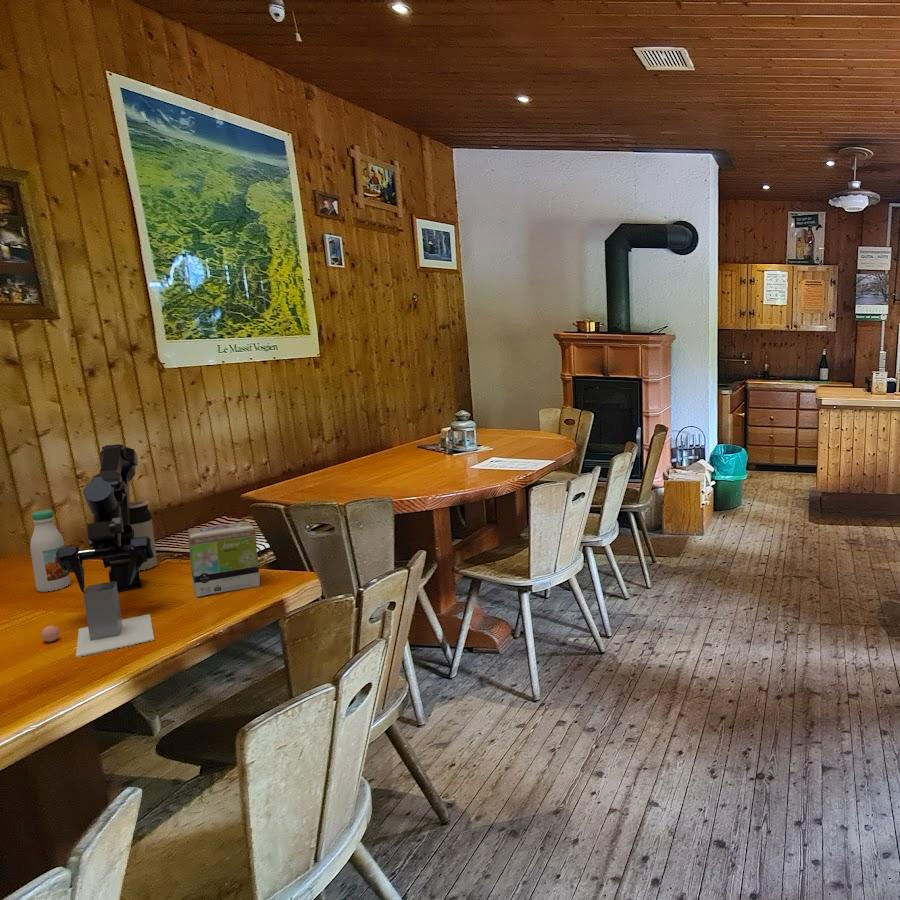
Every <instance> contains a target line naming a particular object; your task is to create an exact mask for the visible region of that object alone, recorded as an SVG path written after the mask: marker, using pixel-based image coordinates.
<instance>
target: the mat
mask: <svg viewBox="0 0 900 900" xmlns="http://www.w3.org/2000/svg"><path fill="white" fill-rule="evenodd" d="M122 626H123V627H122V629H121V632H120V635H119V636H115V637H109V638H103V639H98V640H92V641H90V636H89V629H88V626H84V627H80V628H78V633H77V642H76V643H77V644H76V650H75V651H76V653H75V658H76V659H79V658H82V656H83V657H87V655H88V656H91V654H92V655H97V654H101V653H106V652H110V651H115V650H118V649H117V648H120V649H123V647H124V648H128V647H127V646H129V647H132V645H133V646H136V645H135V644H138V645H140V644H139V643H142V644H144V643H143V642H147V643H149V642H148V641H151V642H153V641H152V640H154V641H155V636H154V631H153V625H152V619H151V613H148V614H143V615H138V616H133V617H129V618H128V617H127V618H125V619H122ZM114 649H115V650H114ZM105 651H106V652H105Z"/></svg>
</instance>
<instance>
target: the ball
mask: <svg viewBox="0 0 900 900" xmlns="http://www.w3.org/2000/svg"><path fill="white" fill-rule="evenodd" d="M40 636H41V638H42V640H43V641H46V642H49V643H50V642H53V641H56V640H57V639H58V637H59V636H60V629H59V628H58V627H57V626H55V625H48V626H46V627H44V628H43V629H42V630H41V633H40Z"/></svg>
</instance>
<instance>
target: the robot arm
mask: <svg viewBox="0 0 900 900" xmlns="http://www.w3.org/2000/svg"><path fill="white" fill-rule="evenodd" d="M99 461H100V463H99V464H100V469H99V473H97V474H96V475H94V476H93V477H92V478H91V481H90V482H89V483H87V484H86V485H85V487H84V488H83V490H82V494H83V497H84V500H85V501H86V502H85V503H86V505H87V507H88V509H89V512H90V513H92V522H91V523H88V524H86V530H87V540H88V545H89V547H91V548H92V549H87V550H81V551H80V549H79V547H78V545H73V546H71V545H70V546H65V547H63V548H60V549H59V550H58V551H57V554H56V559H57V561H58V563H59V565H60V566H61V568H62V570H65V571H66V570H68V572H69V574H74V575H75V578H76V580H77V584H78V587H79V588H80V591H81V592H82V593H84V591H85V590H86V588H85V587H86V585H85V569H84V567H83V565H84V563H83V561H88V560H93V559H102V562H103V567H104V568H110V569H109V570H108V579H109V582H114V581H116V583H117V590H118V592H122V591H128V590H133V588H134V589H137V588H138V587H139V588H141V586H142V580H141V575H140V571H139V568H140V567H141V565H142V564H143V563H144V562H147V561H148V559H150V558H153V557H154V550H153V545H152V542H151V539H150V538H149V537H148V536H146V537H138V538H136V535H135V533H134V530H133V529H132V527H131V526H130V504H129V502H130V482H131V481H132V479H133V478H134V476H135V475H136V467H137V466H138V463H139V461H138V455H137V452H136V450H135V449H134V448H130V447H128V446H127V447H126V446H125V445H124V444H121V443H117V444H108V445H105V446H102V448H101V451H100V452H99Z"/></svg>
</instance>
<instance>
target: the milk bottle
mask: <svg viewBox="0 0 900 900" xmlns="http://www.w3.org/2000/svg"><path fill="white" fill-rule="evenodd" d="M31 518H32V523H34V526H33V533H32V535H31V539H30V547H29V549H30V556H31V562H32V563H31V564H32V569H33V570H32V571H33V576H34V583H35V588H36V590H37V592H42V593H44V592H45V593H48V591H49V592H53V591H54V590H55V591H59V590H62V589H65V588H67V587H69V586H70V585H71V576H70V575H71V574H70V573H69V572H68V570H66V571H65V570H62V568H61V566H60V565H59V563H58V561H57V559H56V554H57V551H58V550H59V549H60V548H63V547H66V546H65V545H66V544H65V541H64V538H63V535H62V534H61V533H60V531H59V530H58V529H57V526H56V525H55V523H54V512H53V510H52V509H51V510H50V509H43V510H39V511H35V512H32V514H31ZM68 585H69V586H68ZM66 586H67V587H66ZM64 587H65V588H64ZM58 589H59V590H58Z"/></svg>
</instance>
